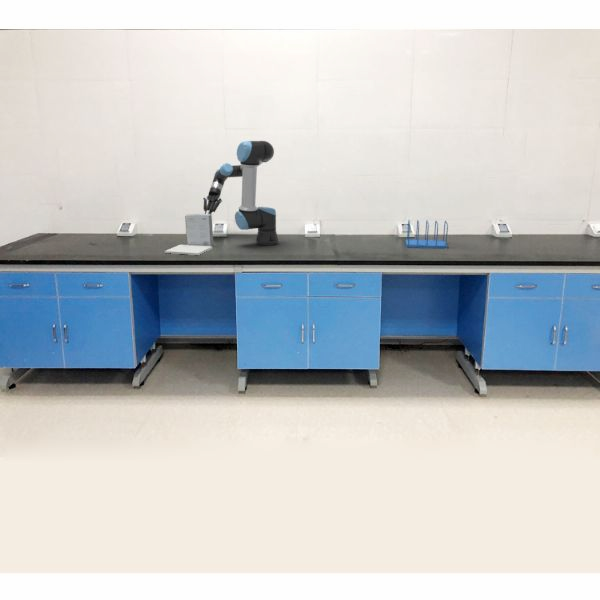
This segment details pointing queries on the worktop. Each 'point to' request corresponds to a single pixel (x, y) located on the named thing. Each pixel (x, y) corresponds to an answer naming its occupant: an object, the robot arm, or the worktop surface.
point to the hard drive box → (199, 229)
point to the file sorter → (427, 242)
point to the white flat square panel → (189, 249)
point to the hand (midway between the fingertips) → (206, 219)
